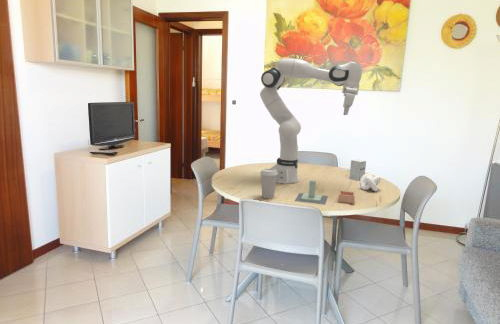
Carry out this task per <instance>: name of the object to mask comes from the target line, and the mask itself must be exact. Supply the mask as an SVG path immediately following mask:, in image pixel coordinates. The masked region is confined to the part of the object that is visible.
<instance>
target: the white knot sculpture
mask: <svg viewBox="0 0 500 324" xmlns="http://www.w3.org/2000/svg"><path fill="white" fill-rule="evenodd" d="M381 178H382V177H381V176H379V175H376V176H373V175H372V174H370V173H365V175H363V176H362V177H361V179H360V180H359V187H360V188H361V189H362V190H363V191H368V190H370V189H371V190H372V191H373V192H377V191H378V190H379V187H378V185H379V184H380V182H381V180H382V179H381Z"/></svg>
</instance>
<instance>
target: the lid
mask: <svg viewBox="0 0 500 324" xmlns="http://www.w3.org/2000/svg"><path fill="white" fill-rule="evenodd" d="M316 183H317V180H316V179H309V183H308V184H309V187H308V193H306V192H305V193H304V194H303V196H302V197H301V200H305V201H313V202H320V201H321V198H322V196H323V195H322V194H316V187H317V186H316V185H317V184H316Z"/></svg>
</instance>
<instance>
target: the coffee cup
mask: <svg viewBox="0 0 500 324" xmlns="http://www.w3.org/2000/svg"><path fill="white" fill-rule="evenodd" d="M259 174H260V179H261V181H260V182H261V183H260V184H261V197H262V198H263V199H266V198H272V199H273V198H275V192H276V184H277V182H276V178H277V175H278V173H277V171H276V170H275V169H270V168H268V167H267V168H262V169H261V171H260V172H259Z"/></svg>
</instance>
